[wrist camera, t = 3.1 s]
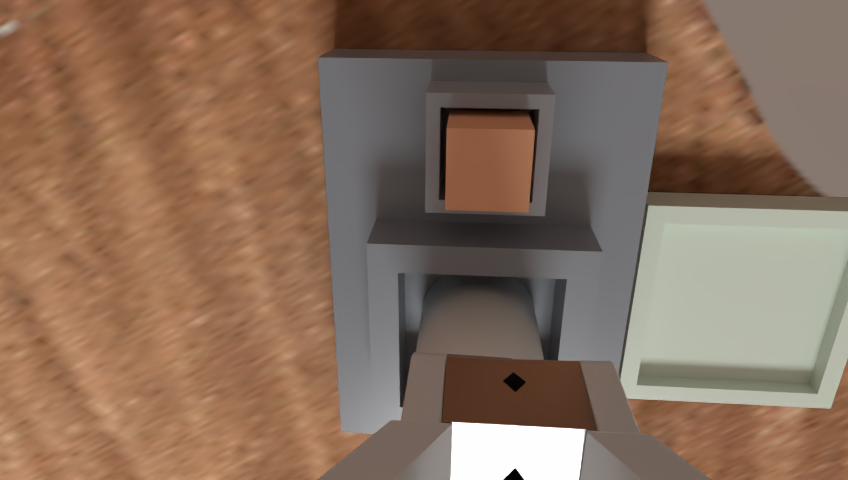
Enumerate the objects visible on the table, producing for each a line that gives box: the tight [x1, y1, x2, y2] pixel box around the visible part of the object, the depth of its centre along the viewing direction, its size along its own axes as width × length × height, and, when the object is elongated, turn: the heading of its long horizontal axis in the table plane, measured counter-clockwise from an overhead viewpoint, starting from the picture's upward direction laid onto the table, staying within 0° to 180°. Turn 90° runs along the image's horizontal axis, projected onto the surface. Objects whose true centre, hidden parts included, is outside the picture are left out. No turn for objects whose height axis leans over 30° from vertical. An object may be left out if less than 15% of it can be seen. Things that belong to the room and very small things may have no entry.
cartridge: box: [416, 275, 544, 360], centre depth 19 cm, size 5×5×17 cm
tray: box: [618, 192, 848, 409], centre depth 28 cm, size 10×10×2 cm
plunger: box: [445, 109, 535, 213], centre depth 21 cm, size 3×3×3 cm
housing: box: [318, 49, 668, 434], centre depth 26 cm, size 13×18×6 cm
